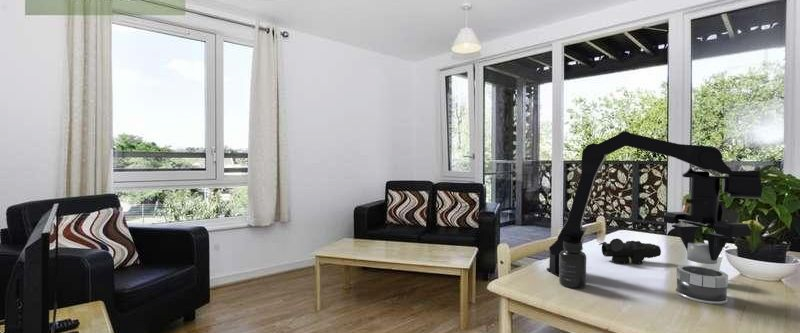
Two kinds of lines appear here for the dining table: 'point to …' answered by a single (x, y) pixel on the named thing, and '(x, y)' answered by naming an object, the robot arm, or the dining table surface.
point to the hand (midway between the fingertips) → (701, 256)
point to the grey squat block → (699, 253)
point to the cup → (713, 266)
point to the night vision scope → (629, 251)
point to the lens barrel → (702, 284)
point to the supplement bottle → (572, 265)
